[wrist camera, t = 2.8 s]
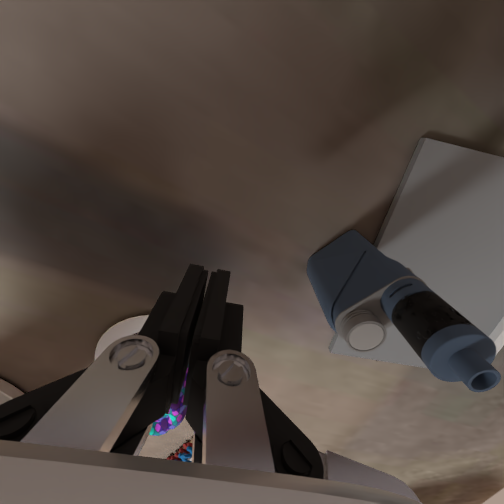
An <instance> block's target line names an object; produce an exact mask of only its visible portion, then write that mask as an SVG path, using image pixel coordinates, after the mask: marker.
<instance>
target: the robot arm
mask: <svg viewBox="0 0 504 504" xmlns="http://www.w3.org/2000/svg"><path fill="white" fill-rule="evenodd" d="M203 269H204V266H198V265H193V264H190V266H189V268H188V270H187V272H186V274H185V276H184V278H183V280H182V282H181V284H180V286H179V289H178V291H177V293H171V292H166V291H163V292H162V294H161V295H160V297H159V299H158V300H157V302H156V304H155V306H154V307H153V309H152V311H151V313H150V314H149V316H148V318H147V320H146V321H145V323H144V325H143V327H142V328H141V330H140V332H139V334H138V335H129V336H126V337H122V338H120V339H118V340H116V341H114V342H113V343H111V344H110V345H109V346H108V347H107V348H106V349H105V350H104V351H103V352H102V353H101V354H100V356H99V357H98V358H97V359H96V360H95V361H94V362H93V363H92V364H91V365H90V366H89V367H88V368H86V369H84V370H81V371H79V372H76V373H74V374H72V375H69V376H67V377H64V378H62V379H60V380H57V381H55V382H52V383H50V384H47V385H45V386H43V387H40V388H38V389H35V390H33V391H31V392H28V393H26V394H24V393H23V392H22V391H20V390H19V389H18V388H16V387H15V386H13V385H12V384H10V383H8V382H6V381H4V380H2V379H0V504H423V503H421V502H420V500H419V499H418V497H417V496H416V494H415V493H414V491H413V490H411V489H410V488H409V487H408V486H407V485H406V484H405V483H404V482H403V481H401V480H399V479H398V478H396V477H394V476H392V475H389V474H387V473H384V472H382V471H379V470H377V469H374V468H371V467H369V466H366V465H364V464H361V463H359V462H356V461H354V460H351V459H349V458H346V457H343V456H341V455H338V454H336V453H333V452H331V451H328V450H327V451H326V453H322V452H320V451H318V450H317V449H316V447H315V446H314V445H313V443H312V442H311V441H310V440H309V439H308V438H307V437H306V436H305V435H304V434H303V432H302V431H301V430H300V429H299V428H298V427H297V426H296V425H295V424H294V423H293V422H292V421H291V420H290V419H289V418H288V417H287V416H286V415H285V414H284V413H283V412H282V411H281V410H280V409H279V408H278V407H277V406H276V405H275V404H274V402H273V401H272V400H271V399H270V398H269V397H268V396H267V395H266V394H265V393H264V392H263V391H262V390H261V389H260V388H259V384H258V379H257V374H256V369H255V366H254V364H253V362H252V361H251V360H250V358H249V357H247V356H246V355H245V354H243V353H241V346H242V325H243V305H239V304H233V303H228V302H226V297H227V291H228V285H229V278H230V271H225V270H220V269H218V270H217V272H212V273H211V277H210V280H209V284H208V287H207V290H206V294H205V297H204V293H205V287H206V281H207V275H208V271H206V270H203ZM203 299H204V301H203ZM188 364H189V365H188ZM187 368H188V372H187V378H186V384H185V391H184V397H183V404H182V405H187V411H186V417H185V418H186V420H187V421H188V423H189V424H190V426H191V427H192V429H193V430H194V435H193V448H192V462H184V461H176V460H168V459H160V458H151V457H143V456H138V455H139V453H140V451H141V449H142V447H143V445H144V443H145V441H146V439H147V437H148V435H149V433H150V431H151V428H152V425H153V422H155V421H157V420H158V419H160V418H161V417H163V416H164V415H165V414H168V413H169V410H170V406H171V403H173V404H177V403H178V400H179V397H180V393H181V389H182V386H183V382H184V379H185V375H186V371H187Z"/></svg>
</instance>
